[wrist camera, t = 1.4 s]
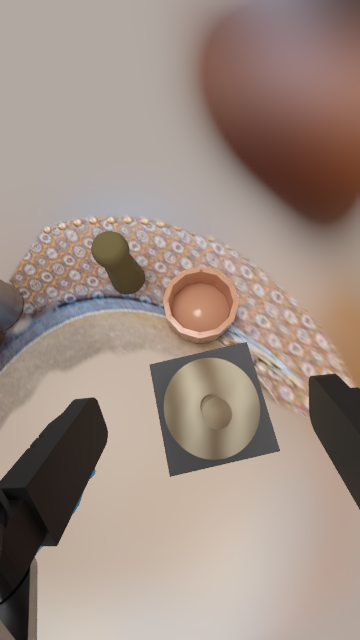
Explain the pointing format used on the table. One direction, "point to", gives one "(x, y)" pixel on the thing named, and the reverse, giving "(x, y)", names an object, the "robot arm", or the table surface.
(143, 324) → the table surface
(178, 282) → the bowl
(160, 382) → the mat
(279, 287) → the table surface
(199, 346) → the table surface
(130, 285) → the olive pawn
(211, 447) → the lid
